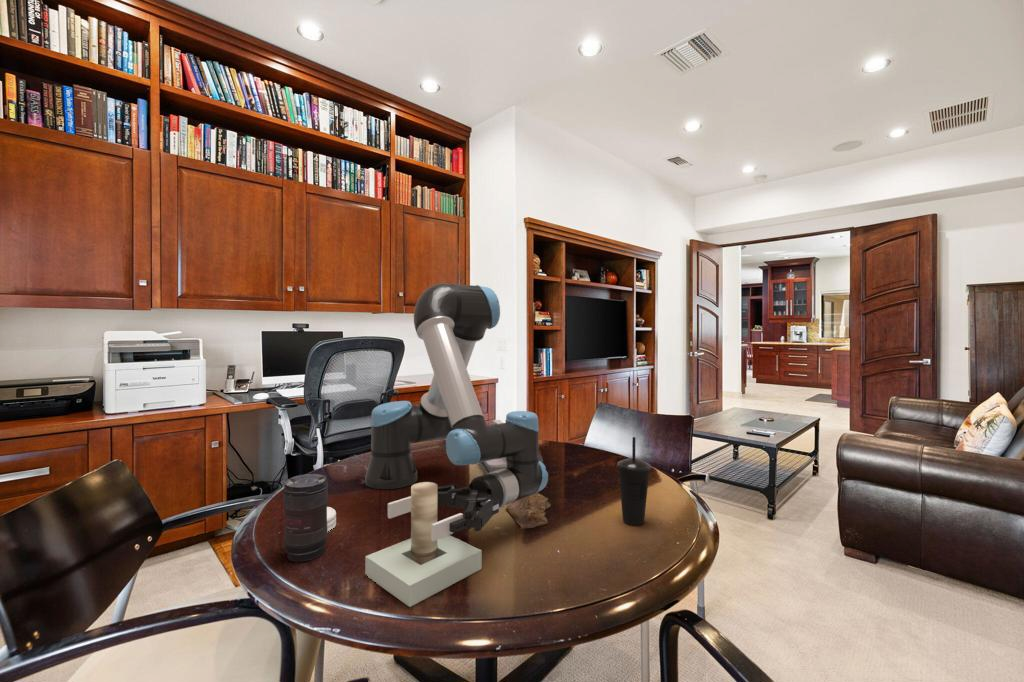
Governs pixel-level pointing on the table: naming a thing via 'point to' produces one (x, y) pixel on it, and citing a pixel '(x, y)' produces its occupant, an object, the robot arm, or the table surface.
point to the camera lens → (305, 516)
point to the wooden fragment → (529, 511)
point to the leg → (423, 521)
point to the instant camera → (498, 463)
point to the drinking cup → (633, 488)
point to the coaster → (331, 518)
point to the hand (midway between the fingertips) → (409, 521)
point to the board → (422, 568)
